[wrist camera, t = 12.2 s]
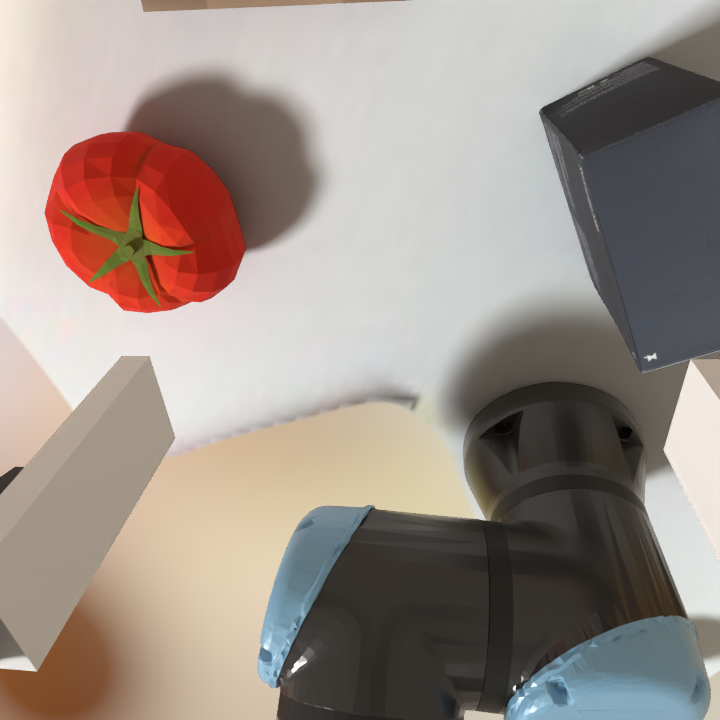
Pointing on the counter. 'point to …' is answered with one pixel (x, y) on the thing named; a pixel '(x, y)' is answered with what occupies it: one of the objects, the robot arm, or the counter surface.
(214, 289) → the tomato
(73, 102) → the counter surface
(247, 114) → the counter surface
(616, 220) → the small box
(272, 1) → the walnut holder block
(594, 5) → the counter surface
